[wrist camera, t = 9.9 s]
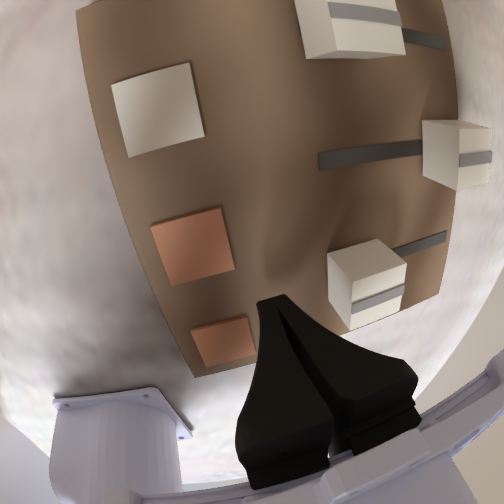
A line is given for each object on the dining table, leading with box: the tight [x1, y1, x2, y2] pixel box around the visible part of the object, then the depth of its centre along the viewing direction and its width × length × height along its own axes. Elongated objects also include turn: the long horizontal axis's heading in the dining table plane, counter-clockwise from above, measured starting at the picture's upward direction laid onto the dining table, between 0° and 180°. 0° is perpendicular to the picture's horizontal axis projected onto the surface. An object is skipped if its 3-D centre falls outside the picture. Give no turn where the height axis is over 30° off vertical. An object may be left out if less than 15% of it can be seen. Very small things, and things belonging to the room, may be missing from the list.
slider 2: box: [327, 239, 407, 331], centre depth 14 cm, size 3×3×3 cm
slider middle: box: [422, 120, 492, 191], centre depth 12 cm, size 3×3×3 cm
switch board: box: [76, 0, 458, 378], centre depth 13 cm, size 18×20×1 cm
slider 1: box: [294, 0, 406, 59], centre depth 8 cm, size 3×3×3 cm
